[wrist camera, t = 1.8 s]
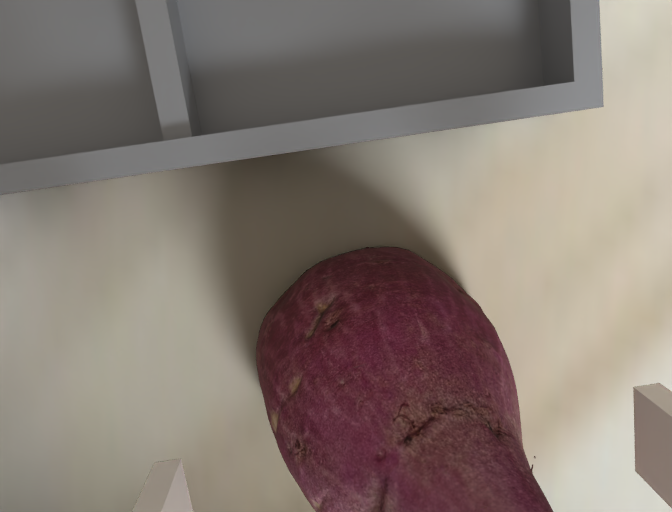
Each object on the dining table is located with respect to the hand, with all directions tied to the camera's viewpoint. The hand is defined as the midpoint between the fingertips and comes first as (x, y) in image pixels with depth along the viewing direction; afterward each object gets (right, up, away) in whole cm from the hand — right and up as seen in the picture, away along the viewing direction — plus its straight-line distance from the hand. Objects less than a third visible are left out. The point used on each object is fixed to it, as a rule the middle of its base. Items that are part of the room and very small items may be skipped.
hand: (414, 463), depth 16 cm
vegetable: (-1, +1, +9) cm, 9 cm away
